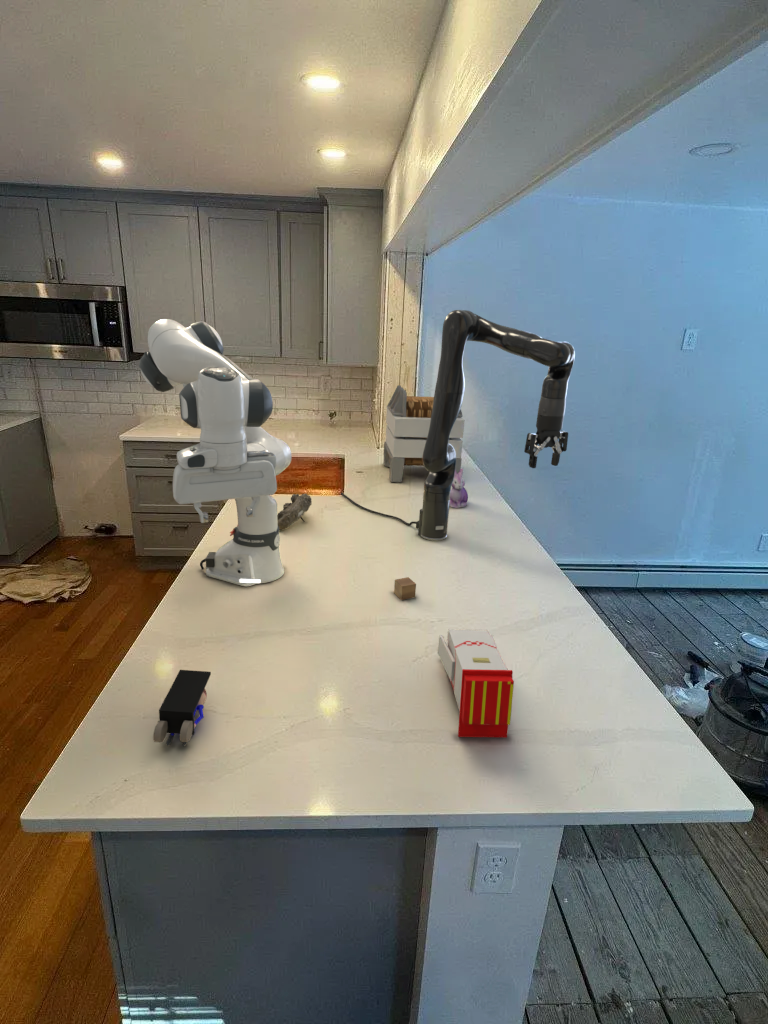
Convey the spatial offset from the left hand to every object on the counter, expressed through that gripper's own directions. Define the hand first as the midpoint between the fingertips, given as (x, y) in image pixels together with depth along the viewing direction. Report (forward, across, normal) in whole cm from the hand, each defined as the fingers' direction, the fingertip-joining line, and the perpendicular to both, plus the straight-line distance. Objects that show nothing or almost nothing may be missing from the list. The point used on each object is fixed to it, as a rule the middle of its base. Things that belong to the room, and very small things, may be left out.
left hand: (227, 518), depth 116 cm
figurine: (+32, -106, -71) cm, 132 cm away
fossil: (+32, -38, -75) cm, 91 cm away
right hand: (+1, -97, -15) cm, 98 cm away
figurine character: (+33, +13, +19) cm, 40 cm away
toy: (+33, -42, +32) cm, 62 cm away
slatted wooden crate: (+32, -115, -118) cm, 168 cm away
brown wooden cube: (+33, -49, -11) cm, 60 cm away
